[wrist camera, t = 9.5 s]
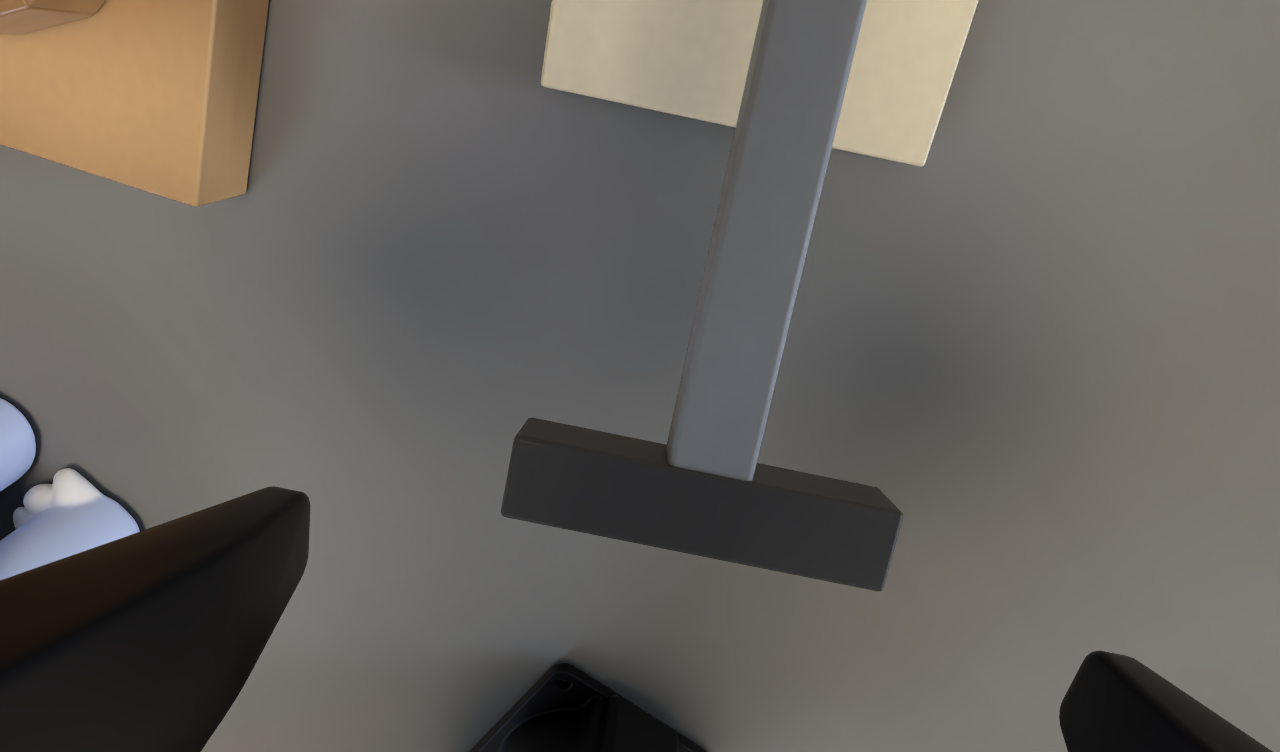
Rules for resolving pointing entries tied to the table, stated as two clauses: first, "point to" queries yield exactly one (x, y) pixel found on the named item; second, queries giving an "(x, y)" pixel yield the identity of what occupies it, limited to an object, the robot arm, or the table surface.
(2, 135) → the button block
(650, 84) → the lever bracket
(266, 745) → the table surface
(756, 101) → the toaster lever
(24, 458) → the hippopotamus toy
